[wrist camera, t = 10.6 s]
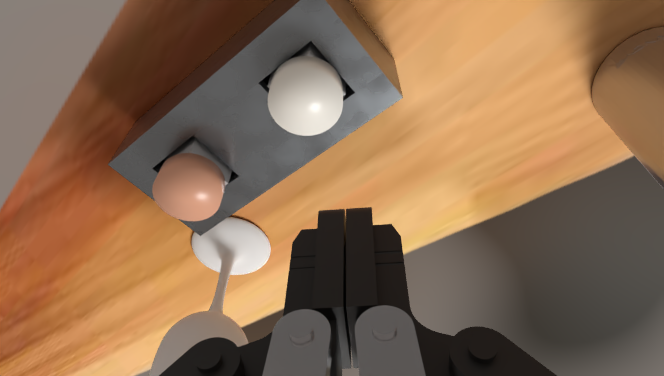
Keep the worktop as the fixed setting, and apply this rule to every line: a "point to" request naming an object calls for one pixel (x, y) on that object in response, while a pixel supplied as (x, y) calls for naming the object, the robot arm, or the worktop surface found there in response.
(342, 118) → the plunger panel
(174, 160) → the plunger
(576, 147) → the worktop surface
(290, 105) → the white ball knob
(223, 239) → the wineglass
